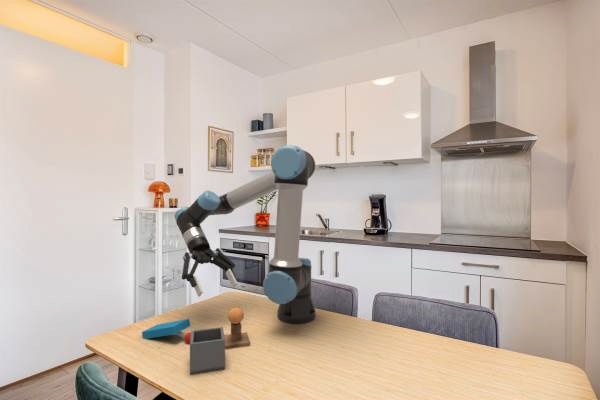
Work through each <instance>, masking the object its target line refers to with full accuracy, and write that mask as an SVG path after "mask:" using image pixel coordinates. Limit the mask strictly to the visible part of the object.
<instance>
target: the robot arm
mask: <svg viewBox="0 0 600 400" xmlns="http://www.w3.org/2000/svg"><path fill="white" fill-rule="evenodd" d="M270 167H271V171H270V172H268V173H265V174H264V175H261V176H260V177H257V178H255V179H253V180H251V181H249V182H247V183H245V184H242V185H240V186H238V187H237V188H235V189H233V190H230V191H228V192H227V193H225V194H224V193H223V194H222V195H221V196H218V195H217V194H216V193H215V192H214V191H211V190H204V191H203V192H202V194H200V195H199V196H198V197H197V198H196V199H195V200H194V201H193V203H192V204H191V205H190V206H183V207H181V208H180V209H177V210H176V211H175V214H174V220H175V222H176V225H177V227H178V229H179V231H180V233H181V235H182V238H183V241H184V242H185V245H186V246H187V247H186V248H187V249H188V251H187V252H185V253H184V255H183V257H182V259H183V261H184V262H183V268H182V273H181V279H182V280H186V281H187V282H189V284H190V286H191V288H194V290H195V292H196V295H197V297H198V298H199V297H201V296H202V295H203V293H204V290H203V287H202V286H201V284H200V281H199V279H198V276H197V275H195V273H196V270H197V268H198V266H199V264H200V265H203V264H209V263H210V265H212V264H213V265H214V266H216V267H219V268H220V269H222V270H223V271H225V275H226V277H227V279H228V281H229V284H230V285H231V288H232V289H233V288H235V287H236V286H237V285H238V281H237V280H236V278H235V277H236V274H235V272H234V270H233V269H235V267H236V264H235V263H234V262H233V261H232V260H231V259H229V257H227V256H226V255H225V254H224V253H223V252H222V251H221V250H220V248H219V247H217V248H216V249H215V250H212V249H211V245H210V242H209V240H208V239H207V236H206V234H205V232H204V230H203V227H202V225H201V224H202V223H203V222H204V221H205V220H206V219H207V218H209V216H215V215H228V214H232V213H233V212H234V210H237V209H238V208H240V207H243V206H244V205H247V204H249V203H252V202H254V201H255V200H258V199H260V198H262V197H264V196H267V195H269V194H271V193H273V192H275V191H277V193H278V194H277V207H276V219H275V222H276V223H275V234H274V235H275V236H274V237H275V238H274V251H273V252H274V253H273V257H272V258H271V259H270V260H269V263H268V273H267V274H266V275H265V277H264V279H263V282H262V288H263V293H264V294H265V296H266V297H267V299H268V300H269V301H270V302H272V303H274V304H277V305H278V308H277V311H276V313H277V316H276V317H277V319H278V320H279V321H280V322H283V323H287V324H295V325H296V324H305V323H306V324H307V323H309V322H312V321H314V320H315V319H316V318H317V317H316V316H317V315H316V314H317V313H316V308H315V305H314V302H313V298H312V268H313V267H312V261H311V260H310V258H305V257H299V253H300V252H299V250H300V239H301V238H300V237H301V223H302V207H303V193H304V190H305V189H307V187H308V185H309V179H310V178H311V177H312V176H313V175H314V173H315V170H316V162H315V158H314V157H313V155H312V154H311V153H309V152H308V151H307V150H304V149H302V148H301V147H299V146H296V145H292V144H288V145H282V146H281V147H279V148H277V150H275V151H274V152H273V155H272V157H271V160H270ZM191 259H193V260H194V263H193V264H192V268H191V270H190V272H189V268H190V267H189V266H190V261H191Z"/></svg>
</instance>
